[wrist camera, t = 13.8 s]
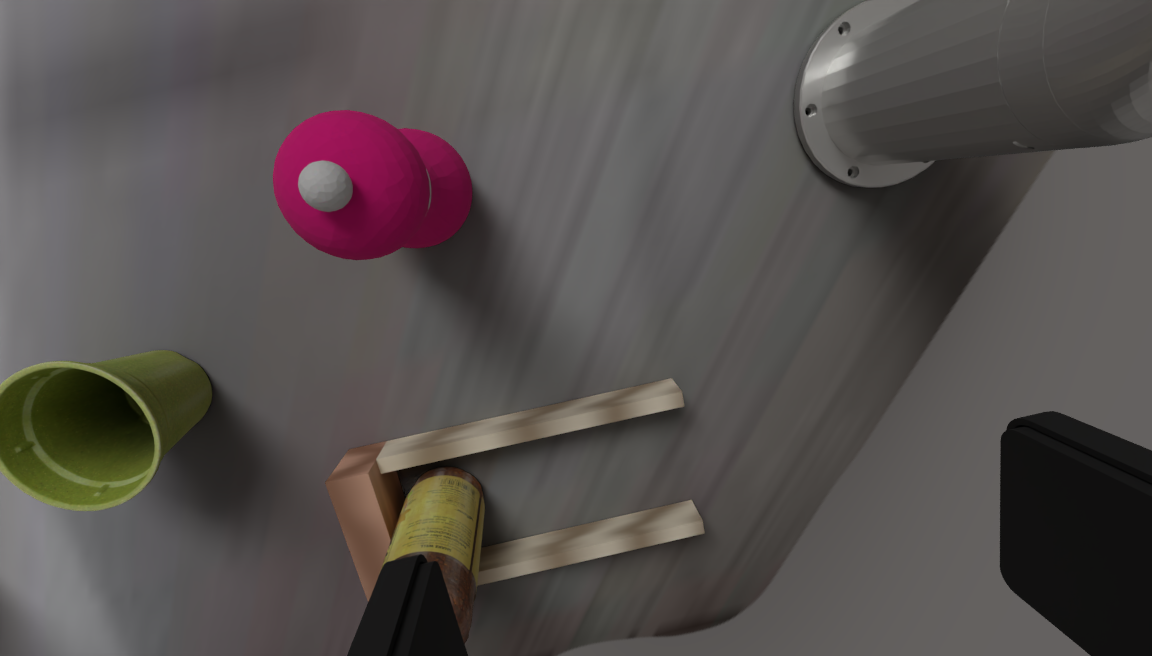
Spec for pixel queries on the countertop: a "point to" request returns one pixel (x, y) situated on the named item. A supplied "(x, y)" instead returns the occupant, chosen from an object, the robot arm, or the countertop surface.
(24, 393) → the plant pot
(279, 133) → the countertop surface
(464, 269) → the countertop surface
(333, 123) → the pepper mill
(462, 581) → the sauce bottle
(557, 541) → the guide track
